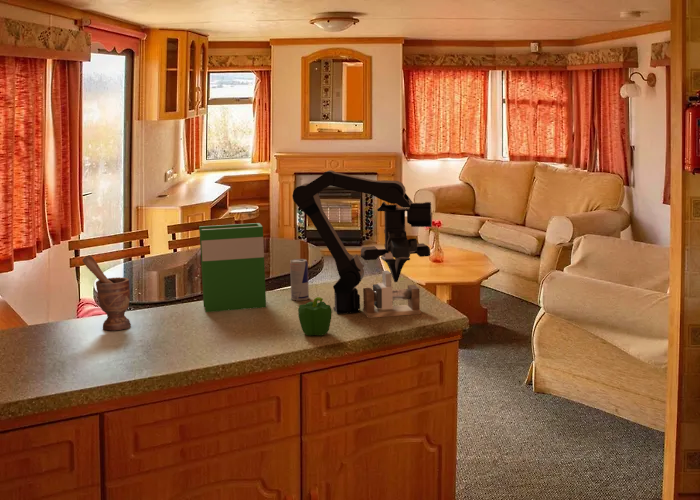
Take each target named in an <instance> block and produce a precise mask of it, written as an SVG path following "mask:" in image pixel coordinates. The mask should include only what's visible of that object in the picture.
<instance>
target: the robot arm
mask: <svg viewBox="0 0 700 500" xmlns="http://www.w3.org/2000/svg"><path fill="white" fill-rule="evenodd" d="M404 185H405V184H404V183H403V182H401V181H399V180H374V179H369V178H365V177H359V176H355V175H350V174H346V173H341V172H338V171H337V172H336V171H335V170H327V171H325V172H323V173H322V174H321V175H320V176H319V177H317V178H315V179H314V180H312V181H311V182H310V183H303V184H300V185H298V186H297V187H295V188H294V189H293V192H292V195H291V197H292V200H293V202H294V203H295V204H296V206H297V207H298V208H299V209H300V211H302V212H303V213H304V214H305V215H306V216H308V218H309V219H310V220H311V223H312V224H313V226H314V228H315V229H316V230H317V232H318V234H319V236H320V237H321V240H322V241H323V242H324V244H325V246H326V248H327V249H328V251H329V252H330V254H331V257H332V258H333V259H334V262H335V267H336V269H337V273H338V277H339V279H338V280H337V281H336V282H335V284H333V291H334V292H333V293H334V307H333V310H334V312H335V313H336V315H344V314H355V313H356V314H358V313H360V309H361V296H360V294H359V290H358V289H357V288H356V287H357V286H359V284H360V282H361V281H362V280H363V278H364V275H365V270H364V268H365V265H364V264H363V263H362V262H361V261H360V258H359V256H358V254H355V255H354V256H353V255H352V254H351V253H349V251H348V250H347V249H346V247H345V245H344V243H343V242H342V240H341V238H340V237H339V235H338V233H337V232H336V230H335V228H334V226H333V225H332V223H331V221H330V219H329V218H328V216H327V214H326V213H325V211H324V210H323V205H322V202H321V197H320V195H319V194H320V193H321V192H323V191H324V190H326V189H328V188H329V187H335V188H340V189H344V190H350V191H354V192H357V193H363V194H367V195H371V196H373V197H375V198H376V199H378V200H381V201H383V202H382V203H381V205H380V206H379V207H378V208H377V209H376V210H377V212H384V216H383V217H384V229H383V233H384V248H378V247H376V246H362V248H360V257H361V258H362V259H363V260H364V261H375V260H376V261H377V260H378V258H379V257H380V259H381V260H382V261H383V262H385V263H386V264H387V267H388V269H389V272H390V273H391V278H392V279H393V282H394V283H398V281H399V278H400V275H401V274H402V269H403V268H404V265H405V264H406V262H408V261H410V260H411V258H410V257H411V255H412V254H413V255H414V254H415V255H418V257H421V258H423V257H430V256H431V249H430V246H428V245H427V244H425V243H423V242H422V243H418V240H417V238H409V239H408V237H407V231H406V223H407V224H408V225H410V226H411V228H427V227H428V228H432V227H433V212H432V203H431V201H425V202H413V201H412V199H411V198H410V197H409V195H407V193H406V191H407V190H406V187H405V186H404ZM387 203H388V204H387ZM398 206H399V207H398Z"/></svg>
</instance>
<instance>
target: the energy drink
mask: <svg viewBox="0 0 700 500" xmlns="http://www.w3.org/2000/svg"><path fill="white" fill-rule="evenodd" d="M289 268H290V297H291V300H292V301H295V300H296V301H298V302H301V301H302V302H303V301H307V300H308V299H309V298H310V297H309V296H310V293H309V291H310V287H309V263H308V260H307V258H306V259H305V258H294V259H290V262H289Z"/></svg>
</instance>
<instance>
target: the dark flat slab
mask: <svg viewBox="0 0 700 500" xmlns="http://www.w3.org/2000/svg"><path fill="white" fill-rule="evenodd" d="M372 290H373V291H377V302H374V307H377V308H378V309H379V308H382V289H381V288H380V287H379V286H378V285H377V283H375V284H372Z"/></svg>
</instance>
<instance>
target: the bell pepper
mask: <svg viewBox="0 0 700 500" xmlns="http://www.w3.org/2000/svg"><path fill="white" fill-rule="evenodd" d="M318 301H319V302H318ZM297 309H298V310H297V313H298V319H299V320H298V321H299V323H300V327H301V330H302V332H303V333H304V335H306V336H308V337H309V336H311V335H312V336H324V335H327V334H328V332H329V330H330V327H331V322H332V321H331V320H332V308H331V305H329V304H327V303H326V302H325V301H324V298H322V297H315V298H314V299H313V301H309V302H306V303H303V304H300V305H299V306H298V308H297Z"/></svg>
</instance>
